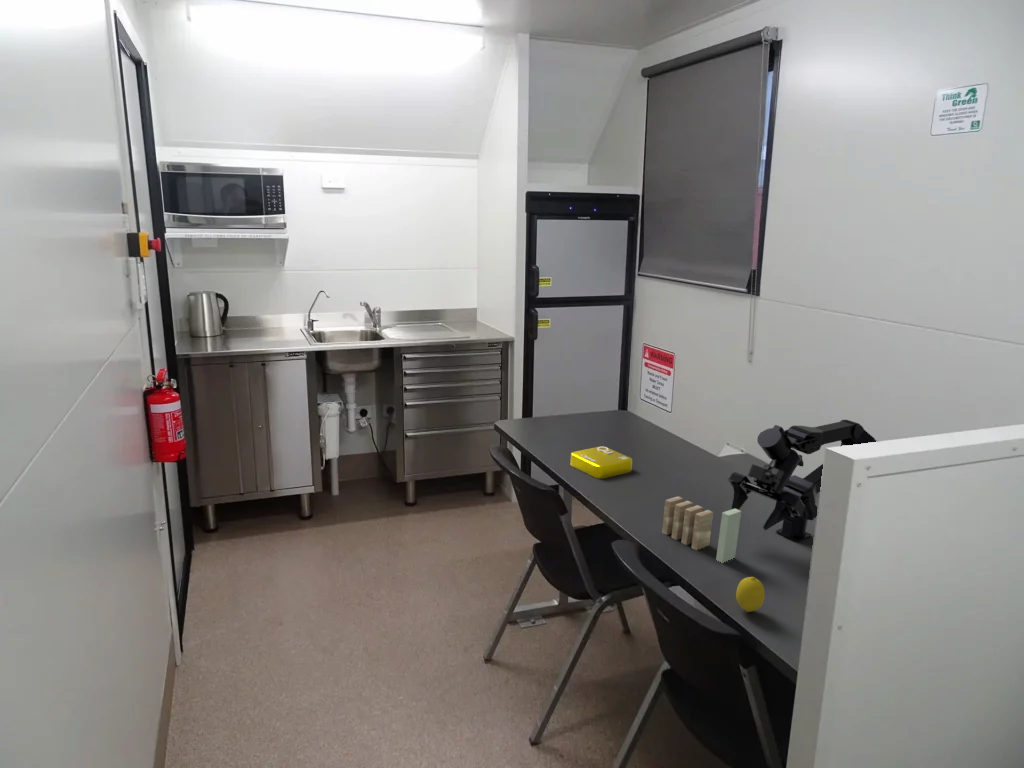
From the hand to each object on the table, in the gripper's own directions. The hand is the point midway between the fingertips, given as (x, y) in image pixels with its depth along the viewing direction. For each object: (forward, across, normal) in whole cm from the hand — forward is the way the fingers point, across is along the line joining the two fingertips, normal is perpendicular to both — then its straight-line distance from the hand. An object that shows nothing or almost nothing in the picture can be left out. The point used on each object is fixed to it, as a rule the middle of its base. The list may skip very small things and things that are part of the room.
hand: (747, 521), depth 171 cm
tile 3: (+11, -14, +1) cm, 18 cm away
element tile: (0, -60, +13) cm, 62 cm away
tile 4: (+10, -17, +1) cm, 20 cm away
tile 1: (+11, -8, +1) cm, 13 cm away
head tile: (+11, 0, +1) cm, 11 cm away
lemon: (+21, +17, -10) cm, 29 cm away
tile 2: (+11, -11, +1) cm, 15 cm away
